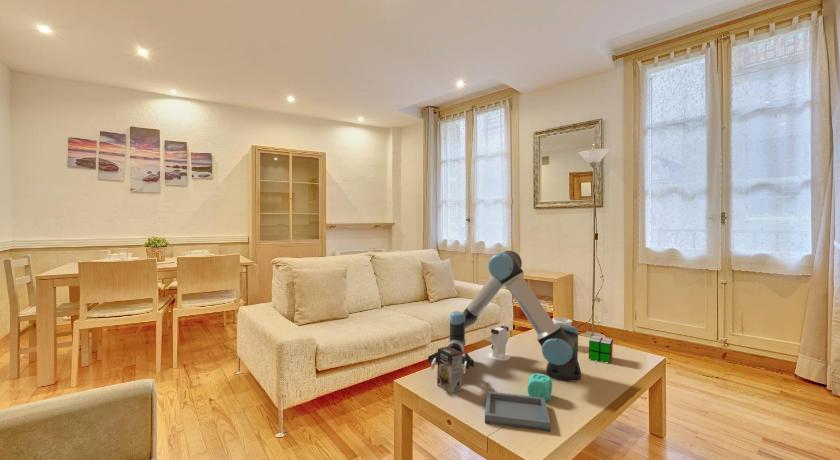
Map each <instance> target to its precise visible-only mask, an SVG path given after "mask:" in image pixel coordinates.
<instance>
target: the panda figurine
mask: <svg viewBox="0 0 840 460" xmlns="http://www.w3.org/2000/svg"><path fill="white" fill-rule="evenodd" d="M509 330H510V329H509V326H506V325H501V326H500V327H499V326H498V327H495V328H491V330H490V333H491V336H490V343H491V350H492V351H491V352H489V353H488V354H487V356H488V358H489V359H491V360H494V361H501V362H505V361H508V360H510V359H511V355H510V354H508V353H506V349H507V347H506V346H507V344H508V341H509V337H510V336H509Z"/></svg>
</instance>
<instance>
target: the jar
mask: <svg viewBox="0 0 840 460" xmlns="http://www.w3.org/2000/svg"><path fill="white" fill-rule="evenodd" d="M551 319H552V321H553V322H554V324H566V325H572V323H573V320H572V319H570V318H568V317H567V318H566V317H561V316H559V317H557V316H556V317H553V318H551Z"/></svg>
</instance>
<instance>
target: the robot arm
mask: <svg viewBox="0 0 840 460" xmlns="http://www.w3.org/2000/svg"><path fill="white" fill-rule="evenodd" d="M522 265H523V262H522V258H521V256H520V255H519V254H518V253H517V252H515V251H513V250H505V251H500V252H497V253H495V254H493V255H492V256H491V257H490V259H489V261H488V265H487V268H488V269H487V270H488V271H489V274H490V277H489V279H487V281H486V282H485V283H484V285H483V286H482V287H481V288H480V290H479V291H478V292H477V294H476V295H474V297H473V298H472V300H471V302H470V303H469V304H468V305H467V307H466V308H465V309H464V311H458V310H457V311H452V312H450V315H449V341H448V344H447V346H449V347H451V348H453V349H456V350H458V351H460V352H462V353H463V352H464V349H465V346H466V337H465V336H466V333H465V332H466V329H467V328H468V327H470V326H471V325H473V324H475V323H476V322H477V321H478V319H479V318H478V317H480V315H481V314H482V313H483V312H484V310H485V309H486V308H487V306H488V305H489V304H490V303H491V301H492V300H493V299H494V298H495V297H496V295H497V294H498V293H499V291H501V289H502V288H503V287H506V288H507V290H508V291H509V292H510V294H511V295H512V297H513V298H514V300H515V301H516V304H517V305H518V306H519V308H520V309H521V311H522V312H523V314H524V316H525V317H526V318H527V320H528V321H529V324H531V326H532V327H533V329H534V331H535V332H536V334H537V336H536V341H537V342H538V343H539V345H540V346H541V354H542V356H543V358H544V359H545V360H546V361H547V364H546V369H545V370H546V371H545V372H546V374H547V376H548V375H549V376H548V377H550V378H553V379H556V380H559V381H565V382H575V381H579V380H581V378H582V370H581V367H580V363H579V361H578V360H579V359H578V357H579V356H578V355H579V335H580V333H579V328H578V327H577V326H575V325H572V324H571V325H566V324H554V322H553V320H552V319H553V318H551V316H550V315H549V314H548V312H547V311H546V309H545V308H544V306H543V305H542V303H541V302H540V300H539V299H538V297H537V296H536V294H535V293H534V291H533V290H532V288H531V286H530V285H529V283H528V282H527V281H526V280H525V278H524V274H525V273H524V270H523V269H522V267H523V266H522ZM427 362H428V363H429V364H430V367H431V369H430V370H431V371H434V369H435V366H436V365H437V364H438V351H436V352H434V353H432V354H431V355H428V357H427ZM462 365H463V367H462V368H463V369H462V370H463V372H462V373H463V374H466V371H467V370H469V369H470V367H471V368H474V367H475V361H474V360H473V358H471V356H470V355H469V353H468V352H465V353H464V354H462Z"/></svg>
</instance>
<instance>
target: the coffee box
mask: <svg viewBox="0 0 840 460" xmlns="http://www.w3.org/2000/svg"><path fill="white" fill-rule="evenodd" d="M437 352H438V362H437V368H436V369H437V370H436V371H437V372H436V373H437V375H436V376H437V377H436V382H437V385H436V386H437V387H439V388H441V389H443V390H444V391H446V392H448V393H450V394H452V393H456V392H458V391H461V390H462V376H463V375H462V373H463V372H462V370H463V369H462V368H463V364H462V355H463V352H460V351H458V350H456V349H453V348H451V347H449V346H448V345H447V346H442V347H440V348H437Z"/></svg>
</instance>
